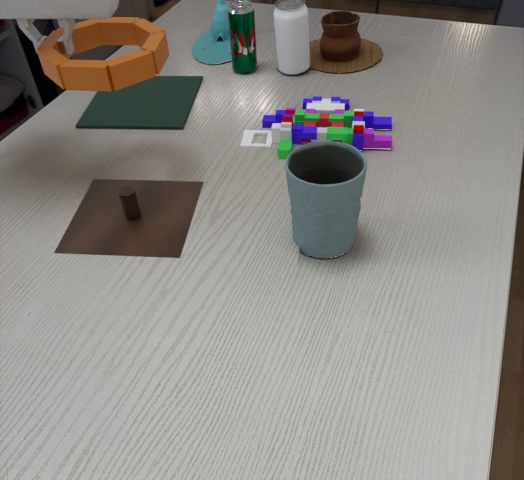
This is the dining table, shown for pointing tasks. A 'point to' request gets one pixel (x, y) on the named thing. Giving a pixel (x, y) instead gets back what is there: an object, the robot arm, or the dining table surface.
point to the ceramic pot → (342, 45)
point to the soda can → (242, 36)
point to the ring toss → (132, 218)
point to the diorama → (215, 38)
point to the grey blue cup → (325, 196)
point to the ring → (106, 71)
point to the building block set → (320, 126)
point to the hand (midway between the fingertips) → (56, 52)
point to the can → (292, 36)
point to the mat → (144, 104)
